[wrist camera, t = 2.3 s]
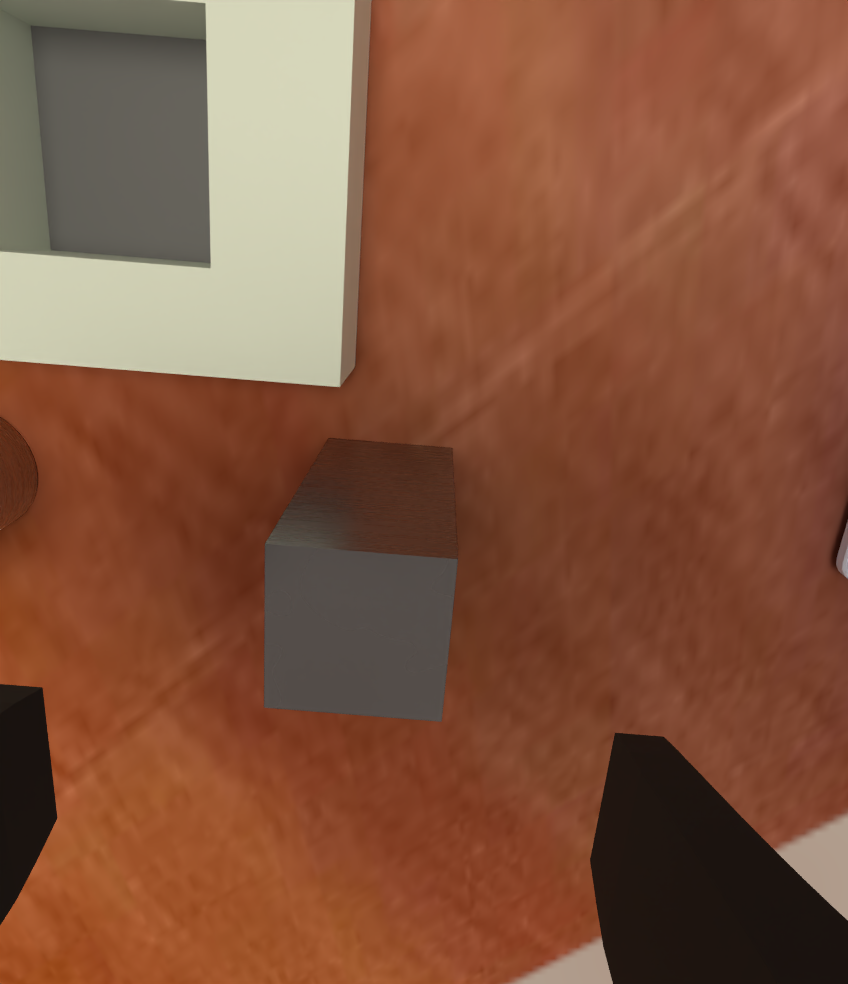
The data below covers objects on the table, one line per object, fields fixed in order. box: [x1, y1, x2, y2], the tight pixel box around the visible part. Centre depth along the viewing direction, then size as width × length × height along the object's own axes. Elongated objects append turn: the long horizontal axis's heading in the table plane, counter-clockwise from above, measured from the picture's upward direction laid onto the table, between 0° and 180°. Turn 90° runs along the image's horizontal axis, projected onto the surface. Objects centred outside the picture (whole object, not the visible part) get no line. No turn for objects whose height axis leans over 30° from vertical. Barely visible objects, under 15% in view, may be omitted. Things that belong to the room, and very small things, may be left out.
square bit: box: [264, 438, 458, 722], centre depth 16 cm, size 3×3×7 cm
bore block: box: [0, 0, 372, 387], centre depth 15 cm, size 10×9×3 cm
